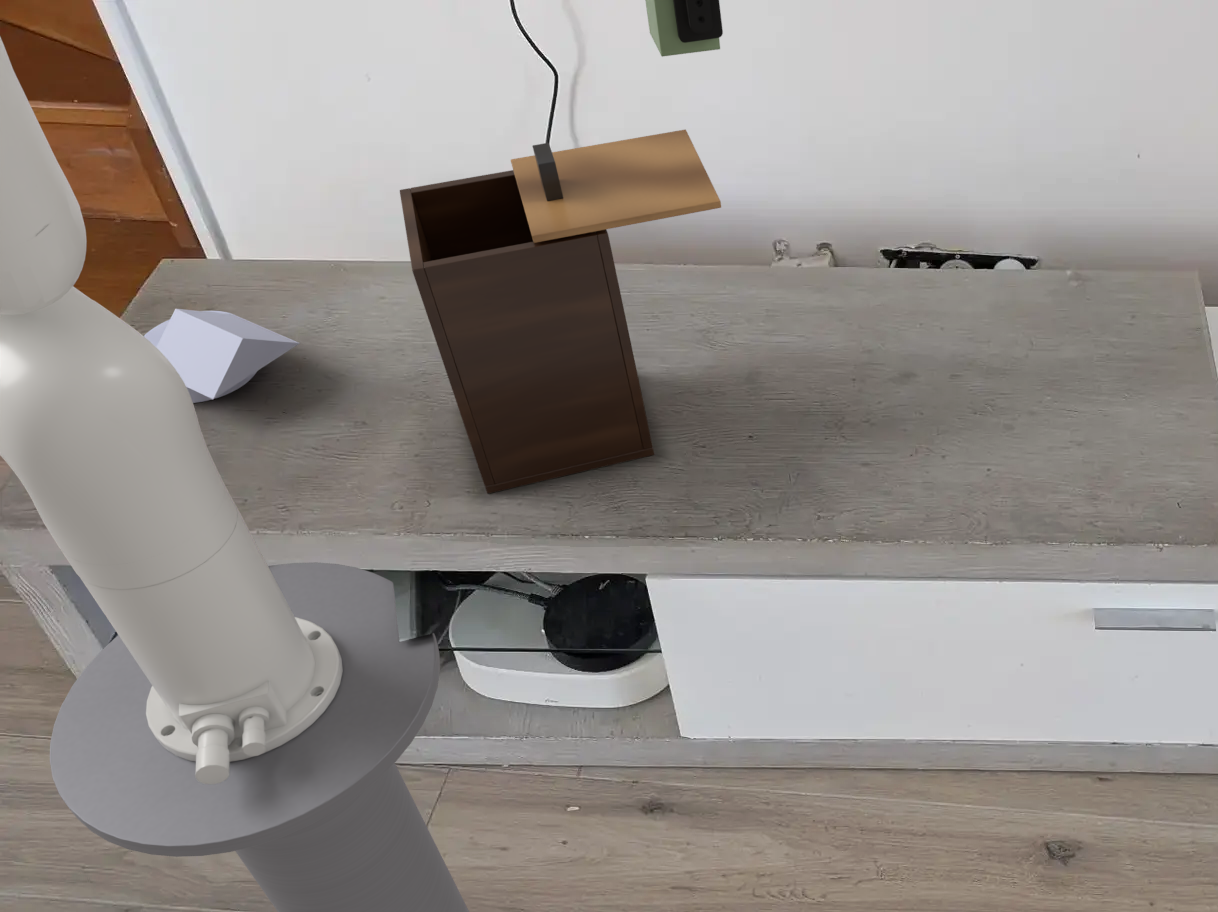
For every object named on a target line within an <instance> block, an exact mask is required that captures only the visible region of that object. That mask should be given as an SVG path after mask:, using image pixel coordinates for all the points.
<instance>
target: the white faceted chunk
mask: <svg viewBox="0 0 1218 912" xmlns="http://www.w3.org/2000/svg"><path fill="white" fill-rule="evenodd" d="M143 336H144V337H145V338H146V339H147V340H149V341H150V342H151V343H152V344H153V345H154V346H155V347H156V348H157V349H158V350H159V351H160V352H161V353H162V354H163V355H164V356H165V357H166V358H167V359H168V361H169V362H170V363H171V364H172V365H173V367H174V368H175V369H176V371H177V372H178V374H179V375H180V377H181V378H182V380H183V382H184V383H185V385H186V387H187V389H188V392H189V394H190V396H191V399H192V402H193V404H194V403H195V404H196V403H202V402H208V401H212V400H214V399H218V398H221V397H224V396H227V395H230V394H231V393H233V392H235V391H236V390H237V391H238V389H240V388H241V387H243V386H244V385H246V384H247V383H248V382H249V381H251V380H252V379H253V378H254V377H255V375H256V374H257V373H258V371H259V370H261V369H262V368H264V367H266V366H267V365H269V364H270V363H272V362H273V361H275V360H276V359H278V358H280V357H281V356H283V355H285V354H286V353H287V352H289V351H291V350H292V349H293V348H295V347H297V346H299V344H300V342H298V341H296V340H294V339H291V338H289V337H287V336H285V335H282V334H280V333H278V332H275V331H273V330H271V329H268V328H266V327H264V326H262V325H260V324H257V323H255V322H253V321H250V320H248V319H245V318H244V317H241V316H238V315H237V314H234V313H231V312H229V311H228V312H227V311H222V310H192V309H182V308H175V309H174V310H173V313H172V315H171V317H170V318H169V319H167V320H165V321H163V322H161V323H159V324H158V325H156V326H154V327H153V328H152V329H150V330H148V331H147V332H146V333H145V334H144V335H143Z"/></svg>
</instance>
